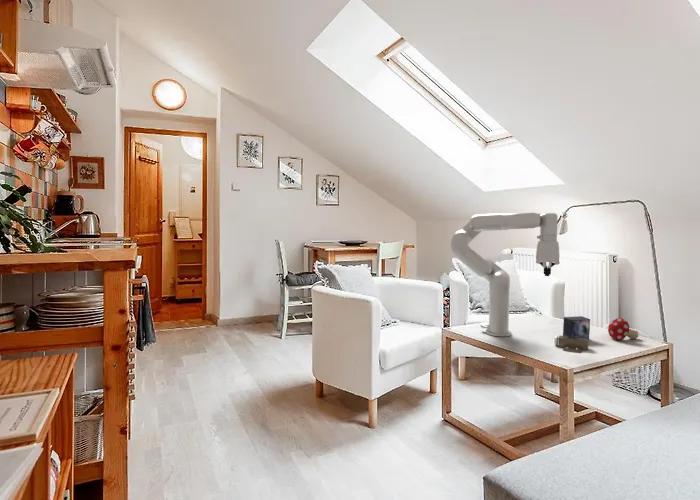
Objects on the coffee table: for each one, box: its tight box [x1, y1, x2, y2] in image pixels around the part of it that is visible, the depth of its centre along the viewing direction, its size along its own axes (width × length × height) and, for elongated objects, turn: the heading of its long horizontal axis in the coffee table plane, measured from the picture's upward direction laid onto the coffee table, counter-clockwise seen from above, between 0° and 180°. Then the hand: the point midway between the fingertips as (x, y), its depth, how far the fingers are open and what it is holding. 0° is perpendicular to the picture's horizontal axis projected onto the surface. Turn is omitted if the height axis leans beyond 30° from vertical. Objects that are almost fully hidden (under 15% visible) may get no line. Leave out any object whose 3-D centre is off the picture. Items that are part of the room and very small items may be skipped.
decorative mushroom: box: [607, 317, 639, 341], centre depth 221 cm, size 11×11×15 cm
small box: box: [562, 315, 591, 341], centre depth 222 cm, size 11×6×10 cm, turn 101°
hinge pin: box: [554, 335, 559, 346], centre depth 208 cm, size 14×4×4 cm, turn 60°
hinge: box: [557, 335, 589, 354], centre depth 207 cm, size 12×15×4 cm
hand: (547, 275), depth 222 cm, fingers closed
